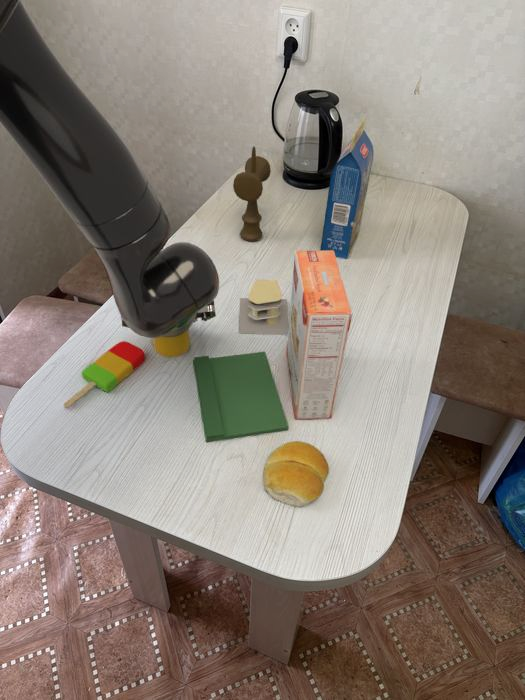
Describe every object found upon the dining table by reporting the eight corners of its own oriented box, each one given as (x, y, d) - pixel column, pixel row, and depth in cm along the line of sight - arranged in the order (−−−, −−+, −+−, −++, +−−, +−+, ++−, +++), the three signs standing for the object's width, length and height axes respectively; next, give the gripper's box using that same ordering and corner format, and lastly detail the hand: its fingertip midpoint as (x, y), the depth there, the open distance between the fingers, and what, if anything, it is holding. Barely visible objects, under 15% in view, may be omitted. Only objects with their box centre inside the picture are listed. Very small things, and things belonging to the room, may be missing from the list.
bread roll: (332, 459, 70) (336, 442, 67) (315, 515, 64) (319, 499, 61) (275, 442, 72) (277, 424, 69) (254, 494, 66) (255, 478, 63)
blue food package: (359, 232, 115) (382, 118, 98) (347, 259, 107) (370, 140, 89) (332, 226, 116) (350, 113, 99) (319, 252, 108) (335, 134, 91)
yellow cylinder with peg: (155, 359, 83) (148, 314, 76) (153, 335, 87) (146, 290, 80) (191, 354, 84) (188, 310, 77) (188, 331, 88) (184, 286, 82)
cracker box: (283, 355, 85) (293, 248, 70) (318, 354, 85) (336, 248, 71) (291, 421, 75) (305, 312, 60) (331, 420, 75) (355, 311, 61)
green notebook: (206, 442, 71) (205, 436, 70) (193, 363, 83) (192, 357, 82) (288, 430, 73) (288, 424, 73) (264, 354, 85) (265, 348, 84)
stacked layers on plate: (239, 298, 95) (240, 274, 92) (287, 299, 96) (289, 275, 92) (238, 333, 88) (238, 308, 84) (289, 334, 89) (292, 310, 85)
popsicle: (149, 359, 83) (147, 350, 81) (79, 419, 73) (76, 410, 72) (124, 346, 85) (122, 337, 84) (53, 402, 75) (50, 394, 74)
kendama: (232, 246, 108) (232, 154, 95) (243, 224, 115) (245, 135, 101) (259, 250, 108) (263, 158, 94) (269, 228, 115) (274, 139, 101)
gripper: (218, 275, 69) (209, 292, 85) (109, 284, 66) (122, 300, 83) (225, 329, 69) (214, 336, 85) (116, 341, 66) (127, 346, 82)
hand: (169, 318), depth 84 cm, fingers closed on yellow cylinder with peg, 6 cm apart
